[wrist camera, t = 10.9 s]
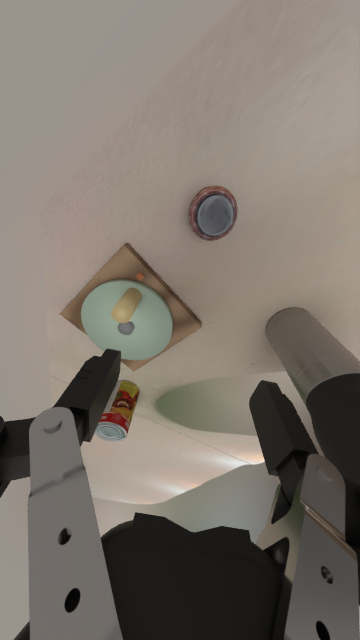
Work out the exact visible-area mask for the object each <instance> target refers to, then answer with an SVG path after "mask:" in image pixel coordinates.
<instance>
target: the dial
mask: <svg viewBox="0 0 360 640" xmlns="http://www.w3.org/2000/svg"><path fill="white" fill-rule="evenodd" d="M81 319H82V324H83V327H84V329H85V331H86V333H87V335H88V336H89V338H90V339H91V340H92V341H93V342H94V343H95V344H96V345H97V346H98V347H99V348H100V349H102V350H103V351H105V350H106V349H107V348H109V349H114V350H119V351H121V358H122V359H127V360H143V359H148V358H151V357H153V356H155V355H157V354H159V353H160V352H161V351H163V350H164V348H165V347H166V346H167V345H168V343H169V341H170V338H171V335H172V329H173V317H172V313H171V310H170V308H169V306H168V304H167V302H166V301H165V300H164V298H163V297H162V296H161V295H160V294H159V293H158V292H157V291H155V290H154V289H153V288H151V287H149V286H148V285H146V284H144V283H141V282H139V281H135V280H130V279H114V280H110V281H107V282H104V283H102V284H101V285H99V286H98V287H96V288H95V289H94V290H93V291H92V292H91V293H89V295H88V296H87V297H86V299H85V300H84V302H83V305H82V309H81Z"/></svg>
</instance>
